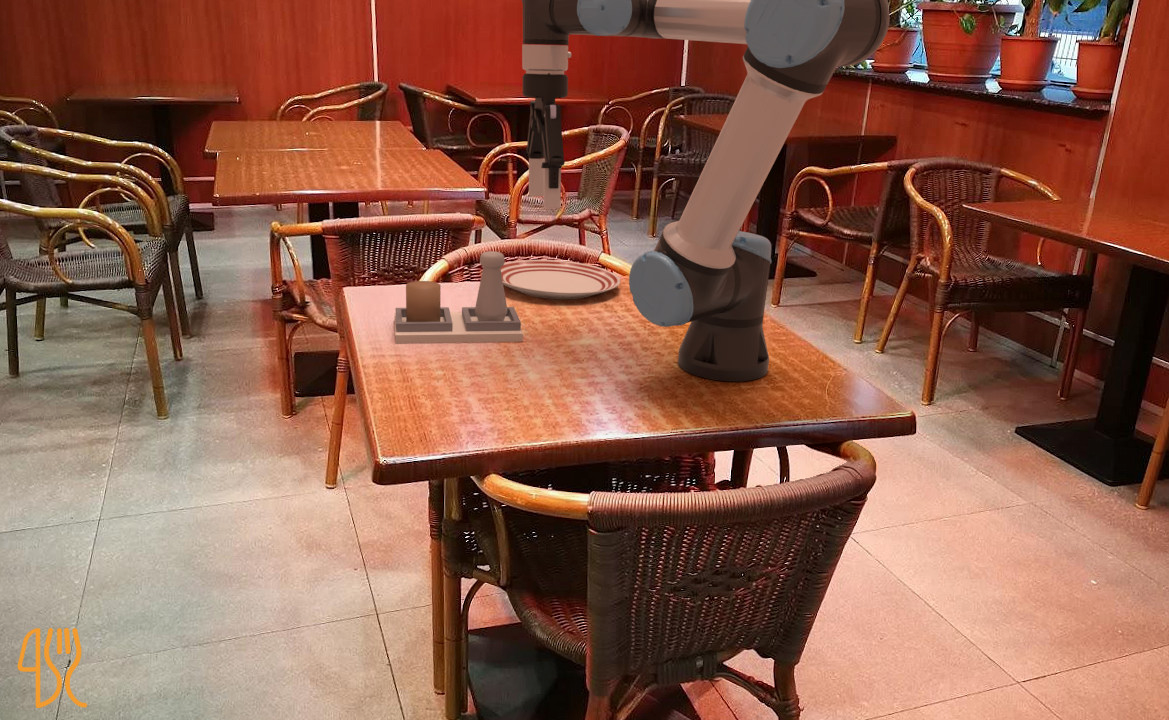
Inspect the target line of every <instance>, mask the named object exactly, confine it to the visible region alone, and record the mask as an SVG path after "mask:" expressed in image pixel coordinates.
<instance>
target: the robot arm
mask: <svg viewBox="0 0 1169 720" xmlns="http://www.w3.org/2000/svg"><path fill="white" fill-rule="evenodd" d="M521 2H522V44H521V46H522V48H521V50H522V52H521V56H522V58H521V61H522V62H521V63H522V66H521V67H522V69H523V70H524V71H525V73H523V75H522V93H521V94H522V95H523V96H524V97H525V98H535V100H530V102H529V106H530V107H529V108H530V112H529V122H528V133H527V141H526V142H527V143H526V149H525V150H526V153H527V155H528V196H529V197H543V205H542V206H543V207H542V208H543V209H561V190H562V186H561V185H562V184H561V183H562V168H563V167H562V166H564V165H565V155H564V143H563V142H564V141H563V140H564V139H563V130H562V128H563V127H562V113H561V112H562V107H561V104H556V99H564V98H567V97H568V93H569V92H568V91H569V76H568V75H567V74H565V72H567V70H568V69H569V59H570V58H571V57H572V52H571V51H569V42H570V41H569V36H571V35H579V36H581V35H583V36H597V37H601V36H603V37H633V38H634V37H635V38H646V39H655V40H656V39H662V40H663V39H667V40H668V39H670V40H681V41H683V40H685V41H697V42H698V41H700V42H708V43H709V42H711V43H723V44H724V43H726V44H727V43H728V44H740V45H747V47H746V50H745V52H744V53H743V56H742V61H743V63H744V66H745V69H746V76H745V79H744V81H743V83H742V85H741V87H740V89H739V92H738V93H737V96H736V98H735V100H734V103H733V105H732V107H731V108H730V110H729V113H728V115H727V117H726V120H725V121H724V123H723V125H722V128H721V130H720V132H719V135H718V137H717V138H716V140H715V143H714V145H713V147H712V149H711V152H710V154H709V156H708V158H707V161H706V162H705V164H704V167H703V169H702V171H701V173H700V175H699V178H698V180H697V182H696V184H695V186H694V188H693V191H692V193H691V195H690V197H689V199H688V201H687V203H686V205H685V208H684V210H683V212H682V214H681V216H680V218H679V220H678V221H672V222H670V223H668V224H667V225H666V226H664V228H663V230H662V233H661V236H660V237H659V239H658V242H657V244H656V246H655V248H654V249H653V250H649V251H646V252H644V253H642V254H641V255H640V256H638V257H637V258H636V259H635V260H634V261H633V263H632V265H631V267H630V271H629V275H628V285H629V292H630V293H631V296H632V300H633V301H632V302H633V303H634V306H635V307H636V309H637V310H638V312H639V313H640V314H641V316H643V318H645V319H646V320H647V321H648V322H650V323H651V324H653V325H656V326H658V327H663V328H670V327H675V326H676V327H679V326H683V325H686V324H687V323H689V326H688V328H687V330H686V333H685V335H684V337H683V338H682V339H683V340H682V342H681V343H680V346H679V349H678V357H677V364H678V366H679V367H680V368H681V369H682V370H684V371H686V372H687V373H690V374H691V375H695V376H697V377H701V378H704V379H709V380H712V381H713V380H714V381H721V382H723V381H724V382H747V381H754V380H758V379H760V378H763V377H765V376H766V375H767V373H768V372H769V364H770V363H769V362H770V357H769V356H770V355H769V351H768V346H767V342H766V337H765V332H764V326H763V324H764V316H765V306H766V300H767V292H768V285H769V277H770V269H771V264H772V258H771V257H772V243H771V241H770V240H769V239H768V238H767V237H765V236H763V235H759V234H756V233H751V232H746V231H741V228H742V226H743V224H744V222H745V220H746V218H747V216H748V214H749V212H750V210H751V208H752V206H753V204H754V202H755V200H756V199H757V196H758V195H759V193H760V191H761V190H762V187H763V186H764V182H765V181H766V179H767V177H768V175H769V173H770V171H771V169H772V168H773V165H774V164H775V162H776V160H777V158H778V155H779V154H780V152H781V150H782V148H783V146H784V144H785V142H786V140H787V138H788V136H789V134H790V133H791V130H792V128H793V127H794V124H795V123H796V120H798V117H799V115H800V113H801V111H802V109H803V108H804V105H805V104H806V102H807V101H808V100H810V99H813V98H816V97H819V96H821V95H822V94H823V93H824V91H825V89H826V87H827V85H828V84H829V82H830V80H831V78H832V76H833V74H834V72H835V71H836V68H839V67H840V68H841V67H850V66H854V65H857V64H859V63H861V62H863V61H865V60H866V59H868V58H870V57H871V56H872V55H873V54H874V53H875V52H876V51H877V50H878V49H879V48H880V47H881V45H882V43H883V42H884V40H885V37H886V36H887V33H888V29H889V27H890V18H891V17H890V8H889V5H888V2H887V0H521Z"/></svg>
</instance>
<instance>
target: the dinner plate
mask: <svg viewBox="0 0 1169 720" xmlns="http://www.w3.org/2000/svg"><path fill="white" fill-rule="evenodd" d="M501 274H502V281H503V286H505V287H508V288H510V289H512V290H515V291H517V292H519V293H521V294H523V295H527V296H531V297H534V298H540V299H548V300H549V299H550V300H578V299H584V297H585V298H588V297H591V296H596V295H600V294H602V293H605V292H607V291H610V290H613V289H616V288H617V287H619V285H620V284H621V278H620V277H619V276H618V275H617V274H615V273H614V272H611V271H609V270H608V269H604V268H602V267H599V266H596V265H590V264H586V263H581V262H575V261H566V260H557V259H556V260H555V259H553V260H552V259H526V260H524V259H523V260H513V261H508V262H504V265H503V266H502V267H501Z"/></svg>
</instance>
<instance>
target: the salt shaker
mask: <svg viewBox="0 0 1169 720" xmlns="http://www.w3.org/2000/svg"><path fill="white" fill-rule="evenodd" d="M505 259H506V258H505V255H504V254H503V253H502V252H499V251H495V250H491V251H490V250H489V251H483V252H482V253H481V254H480V257H479V264H480V266H481V267H482V271H481V276H480V282H479V286H478V287H479V288H478V291H477V298H476V302H475V306H474V307H475V313H476V316H477V318H478V321H504V319H505V316H506V314H507V307H508V306H507V300H506V293H505V289H504V285H503V281H502V274H501V267H502V266H503V265H504V263H505Z"/></svg>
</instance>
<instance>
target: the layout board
mask: <svg viewBox="0 0 1169 720" xmlns="http://www.w3.org/2000/svg"><path fill="white" fill-rule="evenodd" d="M475 307H476V306H471V307H470V306H468V307H467V306H463V307H461V311H460V312H454V311H452V312H451V311H450V307H449V306H448V307H446V306H445V307H441V284H440V283H438V282H435V281H429V280H415V281H409V282H407V283H406V284H405V307H395V312H394V318H393V319H394V334H395V335H394V336H395V337H394V339H395V344H398V345H399V344H449V343H453V344H454V343H458V344H459V343H461V344H462V343H515V342H516V343H517V342H518V343H520V342H521V343H523V341H524V333H523V331H522V330H523V329H522V327H521V326H522V322H521V320H520V317H519V315H518V313H517V310H516V309H515V306H507V314H506V316H505V319H504V321H478V318H477V316H476V313H475Z"/></svg>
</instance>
